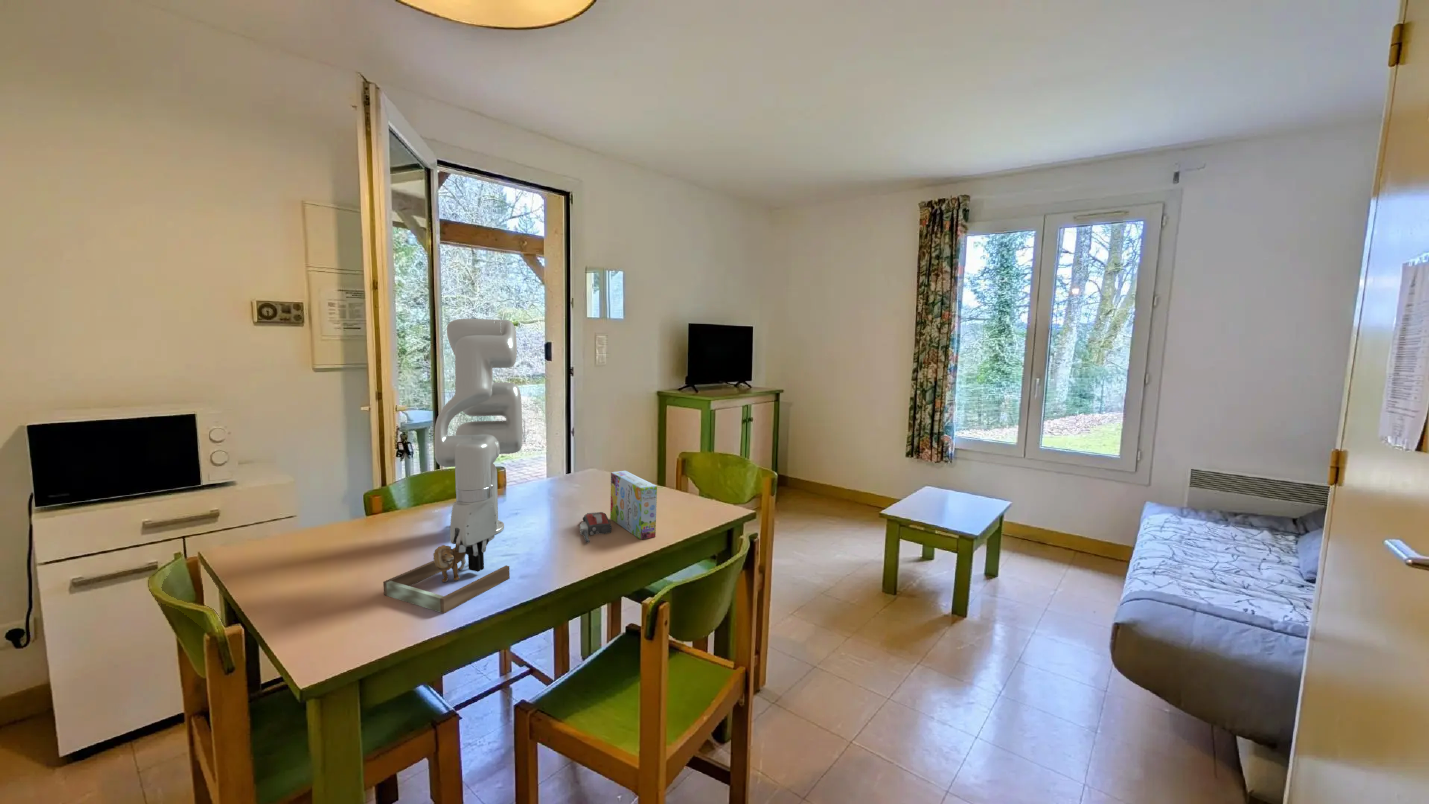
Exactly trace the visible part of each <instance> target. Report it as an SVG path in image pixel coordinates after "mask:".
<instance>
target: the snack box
mask: <svg viewBox="0 0 1429 804" xmlns="http://www.w3.org/2000/svg"><path fill="white" fill-rule="evenodd" d="M657 496H658V486H657V485H656V484H654V483H652V482H650V481H647V480H646V479H643V478H641V477H639V476H637V475H635V474H633V473H631V472H629V471H628V470H619V471H613V472H612V471H611V472H610V515H609V516H610V517H609V518H610V520H612V521H613V522H614V523H616V524H618V525H619V526H621V527H622V528H623V529H624V530H626V531H627V532H629V533H630V534H632V535H633V536H634V537H636V538H637V539H638V540H646V539H651V538H656V533H657V531H656V529H657V503H658V502H657V499H658V497H657Z"/></svg>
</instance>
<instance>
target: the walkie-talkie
mask: <svg viewBox="0 0 1429 804" xmlns="http://www.w3.org/2000/svg"><path fill="white" fill-rule="evenodd" d="M611 532H612V525H611V521H610V520H609V517H608V516H607V514H606V513H605V512H603V511H599V512H595V511H594V512H587V513H586V514H585V515H584V516H583V517H582V522H581V523H579V535H580V536H583V538H584V541H585V542H586V543H590V538H589V536H592V535H593V536H594V535H600V534H604V535H605V534H611Z"/></svg>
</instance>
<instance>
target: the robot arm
mask: <svg viewBox="0 0 1429 804" xmlns="http://www.w3.org/2000/svg"><path fill="white" fill-rule="evenodd" d="M446 335H447V336H446V337H447V339H448V344H449V345H450V346H449V347H450V348H451V350H452V353H453V354H454V357H455V358H454V360H455V361H454V366H455V367H454V371H455V376H454V377H455V379H454V381H455V382H454V386H455V387H454V389H455V391H454V395H453V397H452V398H451V399H449V400H448V402H447V403H446V404H445V405H444V406H443V407H442V408H441V410H440V412H439V413H438V416H437V418H436V421H435V426H434V457H435V461H436V463H437V464H438V465H439V466H441V467H444V468H454V470H455V472H454V473H455V474H454V475H455V476H454V477H455V494H456V495H455V499H456V501H455V502H453V504H452V509H451V515H450V530H449V535H450V537H449V538H450V540H449V541H450V544H453V545H455V546H454V548H455V552H459V553H462V552H465V553H466V555H467V554H468V555H467V558H468V559H467V560H468V561H467V562H468V564H467V565H468V570H469V571H473V572H477V573H478V572H481V571H482V570H484V569H485V564H484V563H485V561H484V558H485V557H484V556H485V555H484V553H485V552H486V550H487V546H488V545H489V543H490V542H491V541H492V540H493V539H495V535H496V534H499V533H501V532H503V530H504V529H505V523H504V522H503V521H501V520H499V505H498V504H499V503H498V502H499V498H498V497H499V496H498V469H497V467H496V465H495V462H496V460H497V459H498V458H499V457H500V455H505V454H506V455H507V454H516V453H518V452H519V451H521V450H522V447H523V444H524V443H523V438H524V437H523V436H524V435H523V434H524V433H523V410H522V407H523V406H522V405H523V404H522V394H521V390H520V388H519V386H518V385H517V384H515V383H513V382H507V381H506V382H505V381H504V382H502V381H501V382H498V381H497V382H495V381H494V377H493V376H494V375H493V369H507V368H509V369H510V368H513V367H514V366H515V364H516V362H517V357H518V353H517V351H518V345H517V329H516V327H515V325H514V323H513V322H512V321H510V320H507V319H491V318H490V319H487V318H458V319H454V320H451V321H449V322H448V324H447V327H446ZM462 412H463V414H464V415H467V416H471V417H501V416H502V417H504V418H505V420H475V421H468V422H467V421H466V422H464V423H461V424H460V425H458V427H457V428H456V431H455V435H453V434H452V435H449V434H448V431H449V425H450V423H451V422H452V420H453V419H454V418H455V417H456V416H457V415H458V414H460V413H462ZM470 546H471V547H470Z"/></svg>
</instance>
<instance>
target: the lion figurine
mask: <svg viewBox="0 0 1429 804" xmlns="http://www.w3.org/2000/svg"><path fill="white" fill-rule="evenodd" d="M470 547H471V546H470ZM466 555H467V556H468V554H466V553H465V552H462V553H459V552H455V547H453V548H452V546H451V545H450V546H449V545H445V544H442V545H440V546H438V547H436V549H434V551H433V554H432V556H433V561H434V563H435V565H436V567H437V568H438V569H439V570H441V573H442V576H443V578H442V580H441V582H442V583H445V582H447V581H449V575H448V572H447V571H450V570H451V569H452V573H453V581H458V580H460V575H459V571H462V570H464V569H465V565H466ZM460 562H461V564H460V566H459V565H458V564H459V563H460Z"/></svg>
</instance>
